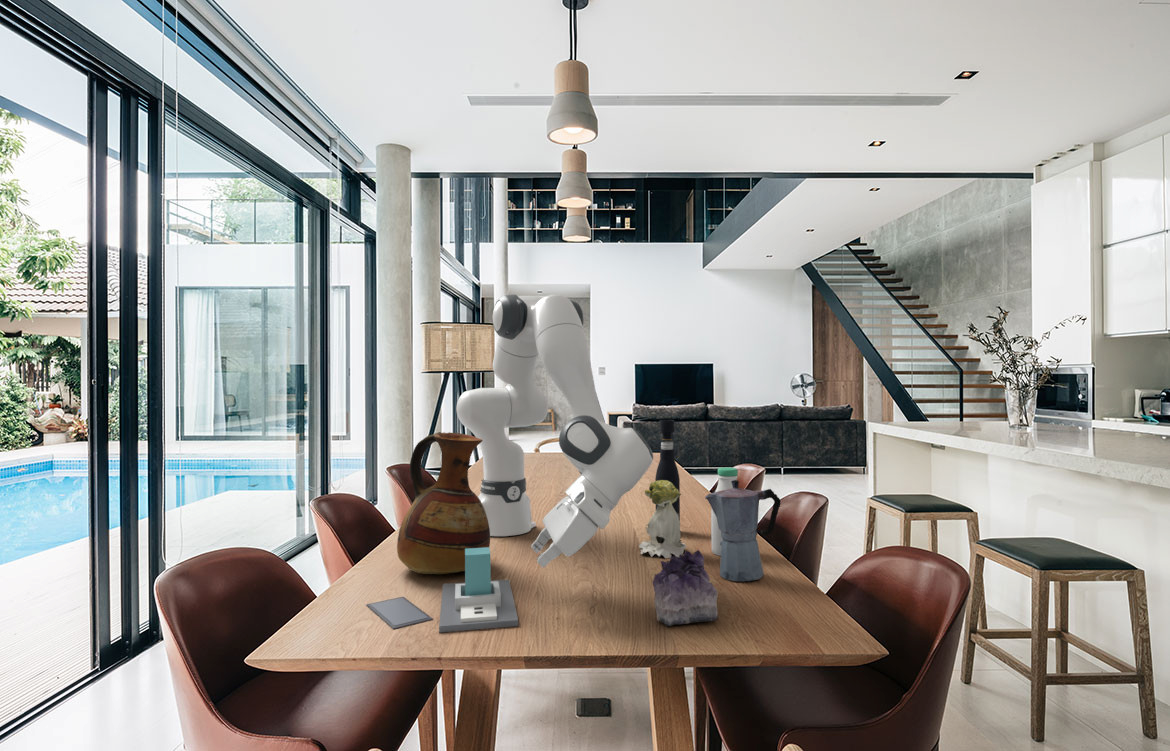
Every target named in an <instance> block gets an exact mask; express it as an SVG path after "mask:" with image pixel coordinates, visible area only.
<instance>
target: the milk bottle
mask: <svg viewBox="0 0 1170 751" xmlns="http://www.w3.org/2000/svg"><path fill="white" fill-rule="evenodd" d="M738 474H739V473H738V469H737V468H735V467H730V466H729V467H719V468H718V469H717V478H718V482H717V486H716V489H715V490H714V492H718V491H722V490H726V489H731V488H733V486H732V483H731V481H733V480H737V479H738ZM737 481H738V480H737ZM710 514H711V516H710V517H711V520H710V521H711V522H710V523H711V524H710V525H711V532H710V534H711V536H710V537H711V539H710V540H711V552H712V554H713V555H716V556H720V557H721V545H720V542H721V541H722V537H721V530H719V527H718V522H717V517H716V515H715V513H714V511H713V509H712V508H711V513H710Z"/></svg>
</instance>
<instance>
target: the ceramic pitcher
mask: <svg viewBox="0 0 1170 751" xmlns="http://www.w3.org/2000/svg"><path fill="white" fill-rule="evenodd" d="M482 441H483V440H482V439H479V438H476V436H473V435H470V434H469V435H468V434H466V433H458V432H450V431H449V432H441V431H439V432H435V433H433V434H431V435H430V434H429V435H427V436H426V437H423V439H421V440H420V441H418V442H417V444H416V445H415V446H414V449H413V452H412V453H411V457H410V461H409V474H410V479H411V482H412V486H413V490H414V493H415V494H414V501H413V502H412V503H411V505H410V506H409V508H408V510H407V511H406V513H405V515H404V517H403V519H402V522H401V525H400V527H399V531H398V535H397V542H396V551H397V556H398V559H399V561H401V563H402V564H403V565H404V566H406V568H408V569H409V570H411V571H412V572H415V573H419V574H424V575H448V574H453V573H454V574H455V573H462V572H465V549H468V548H485V547H489V548H490V545H491V536H490V528H489V524H488V519H487V515H486V512H485V509H484V507H483V505H482V503H481V501H480V499H479V498H478V495H477V494H476V493H475V492H474V491H473V490H472V489H471V488H470V484H469V477H468V476H469V467H470V462H471V456H472V454H473V452H474V450H475V449H476V447H477V446H478V445H479V446H480V443H481V442H482ZM436 442H437V443H438V447H439V448H440V452H441V466H440V470H439V473H438V477H437V479H436V480H435V481H436V482H434V484H432V486H429V487H426V485H425V482H424V479H423V474H422V462H423V458H424V455H425V453H426V451H427V450H428V448H429V446H431V445H432V444H434V443H436Z"/></svg>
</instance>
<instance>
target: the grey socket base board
mask: <svg viewBox="0 0 1170 751" xmlns="http://www.w3.org/2000/svg"><path fill="white" fill-rule="evenodd" d="M441 592H442V593H441V601H440V611H439V612H440V613H439V625H438V632H439V633H449V632H450V633H451V632H459V631H460V632H461V631H462V632H463V631H471V630H472V631H473V630H486V629H497V628H507V627H509V628H510V627H512V628H513V627H519V617H518V612H517V609H516V608H517V607H516V604H515V600H514V595H513V591H512V587H511V582H510V579H509V578H508V579H494V580H492V579H491V594H485V595H471V596H465V581H463V582H450V583H448V582H447V583H442V591H441Z"/></svg>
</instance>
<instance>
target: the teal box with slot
mask: <svg viewBox="0 0 1170 751" xmlns="http://www.w3.org/2000/svg"><path fill="white" fill-rule="evenodd" d="M491 570H492V569H491V549H490V546H489V547H485V548H468V549H465V571H464V582H465V596H471V595H485V594H491V581H492V579H491V578H492V577H491V572H492V571H491Z"/></svg>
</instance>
